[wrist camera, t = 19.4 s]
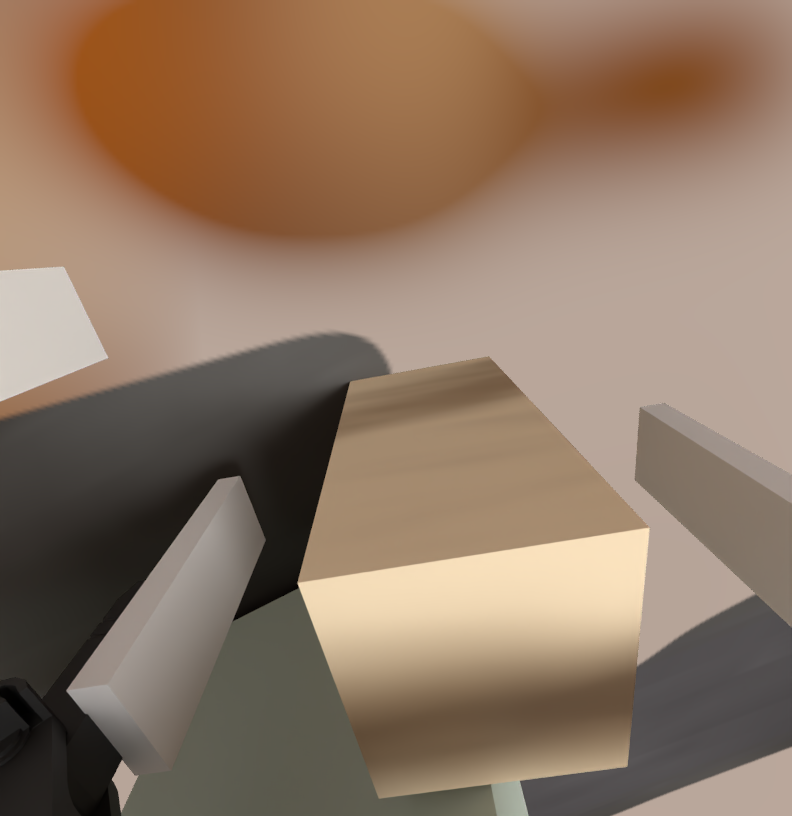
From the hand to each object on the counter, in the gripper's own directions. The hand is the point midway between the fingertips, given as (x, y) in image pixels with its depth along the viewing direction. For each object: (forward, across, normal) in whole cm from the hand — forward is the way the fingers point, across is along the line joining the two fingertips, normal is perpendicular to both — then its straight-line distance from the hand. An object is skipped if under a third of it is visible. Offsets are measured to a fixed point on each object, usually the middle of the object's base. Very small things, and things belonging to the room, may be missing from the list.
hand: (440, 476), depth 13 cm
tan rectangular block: (+2, 0, 0) cm, 2 cm away
